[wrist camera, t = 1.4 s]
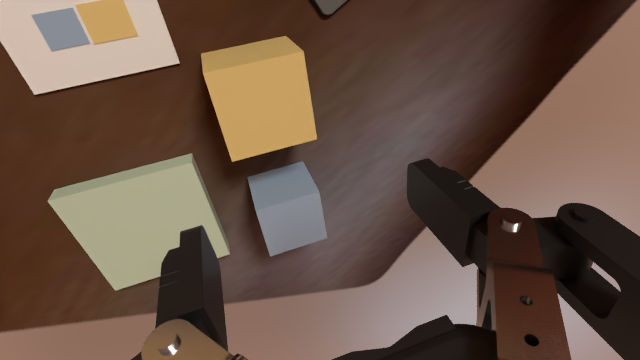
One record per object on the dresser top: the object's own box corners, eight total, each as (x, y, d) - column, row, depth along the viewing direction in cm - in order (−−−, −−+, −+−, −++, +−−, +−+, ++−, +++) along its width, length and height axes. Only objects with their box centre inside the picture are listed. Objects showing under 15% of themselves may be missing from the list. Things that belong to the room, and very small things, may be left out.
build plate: (191, 153, 27) (191, 162, 26) (228, 243, 33) (229, 254, 32) (54, 189, 25) (47, 201, 24) (118, 277, 31) (115, 290, 30)
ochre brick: (285, 35, 25) (303, 51, 21) (298, 112, 28) (316, 139, 24) (200, 53, 24) (202, 73, 20) (226, 131, 27) (231, 162, 23)
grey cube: (302, 160, 31) (319, 191, 27) (311, 204, 34) (327, 238, 30) (247, 176, 30) (255, 210, 26) (260, 219, 33) (270, 256, 29)
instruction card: (137, -52, 20) (137, -52, 20) (179, 62, 24) (179, 63, 23) (-40, -24, 18) (-42, -24, 18) (35, 93, 22) (34, 94, 22)
